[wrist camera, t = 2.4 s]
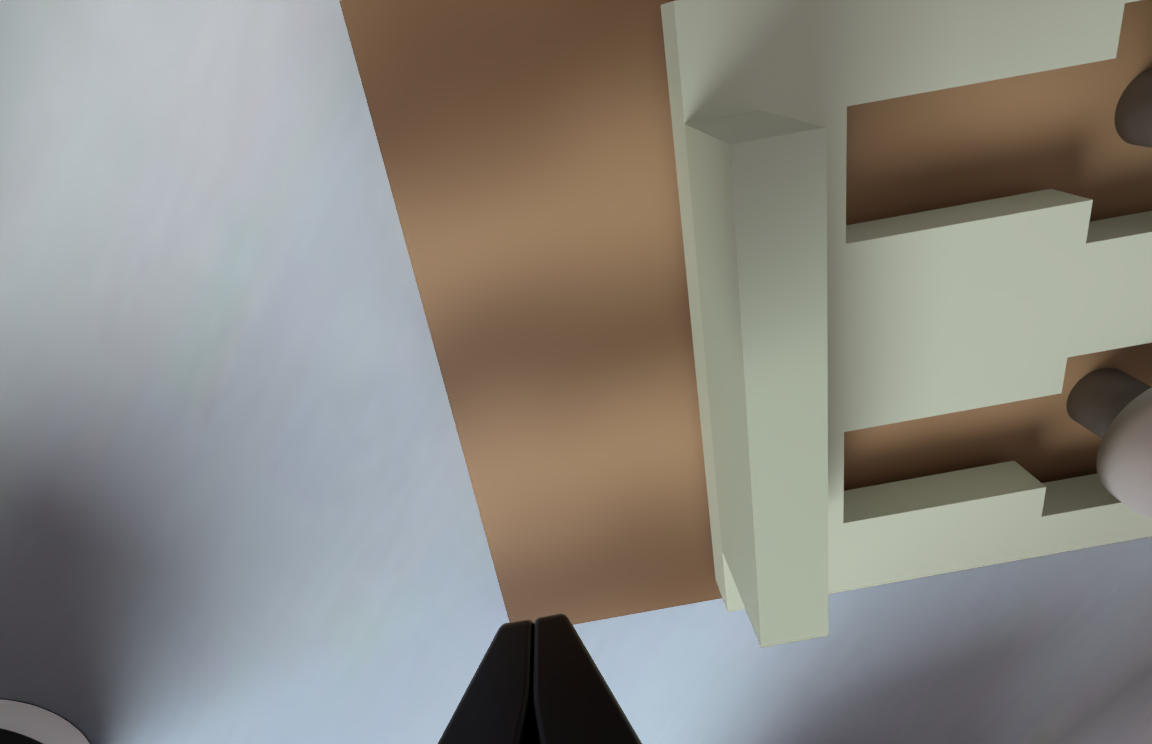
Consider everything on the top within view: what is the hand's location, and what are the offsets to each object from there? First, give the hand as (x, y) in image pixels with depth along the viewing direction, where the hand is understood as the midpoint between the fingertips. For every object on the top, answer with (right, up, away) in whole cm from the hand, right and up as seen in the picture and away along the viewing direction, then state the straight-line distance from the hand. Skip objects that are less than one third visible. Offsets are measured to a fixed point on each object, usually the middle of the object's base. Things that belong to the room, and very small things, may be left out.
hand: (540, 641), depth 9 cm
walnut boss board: (+10, +6, +8) cm, 14 cm away
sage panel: (+11, +5, +7) cm, 14 cm away
